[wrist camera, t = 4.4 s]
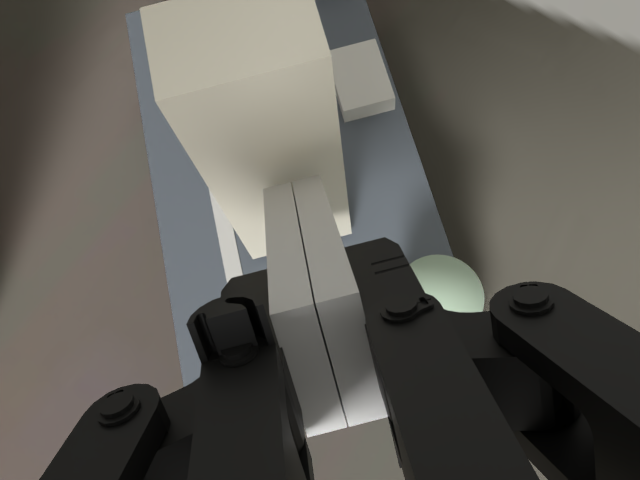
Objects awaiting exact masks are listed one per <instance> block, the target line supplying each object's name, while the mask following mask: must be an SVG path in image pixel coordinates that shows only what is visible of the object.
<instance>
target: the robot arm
mask: <svg viewBox="0 0 640 480" xmlns="http://www.w3.org/2000/svg"><path fill="white" fill-rule="evenodd" d="M292 184H293V188H292V185H291V182H288V183H284V184H280V185H276V186H272V187H268V188H264V189H263V196H264V216H265V236H266V256H267V269H264V270H260V271H256V272H253V273H249V274H245V275H241V276H237V277H233V278H231V279H230V280H229V281H228V283H227V284H226V285H225V287H224V288H223V289H222V291H221V297H220V298H217V299H214V300H211V301H210V302H208V303H206V304H204V305H203V306H201V307H199V308H198V309H197V310H196V311H195V312H194V313H193V314H192V315H191V316H190V318H189V320H188V322H187V324H186V325H187V328H188V330H189V333H190V335H191V338H192V341H193V343H194V346H195V348H196V351H197V354H198V356H199V359H200V361H201V371H200V377H199V378H197V379H196V380H195V381H193V382H192V383H190V384H189V385H187V386H185V387H183V388H181V389H179V390H177V391H175V392H173V393H171V394H169V395H167V396H164V397H162V398H160V396H159V393H158V391H157V389H156V388H154V387H152V386H150V385H149V384H133V385H129V386H124V387H120V388H117V389H115V390H114V391H111V392H109V393H107V394H105V395H104V396H103V397H102V398H100V399H99V400H97V401H96V402H94V403H93V404H92V405H91V406H90V408H89V409H88V410H87V411H86V412H85V413H84V414H83V416H82V417H81V419H80V420H79V422H78V423H77V425H76V426H75V427H74V429H73V430H72V432H71V433H70V435H69V436H68V438H67V439H66V441H65V442H64V444H63V445H62V447H61V448H60V450H59V451H58V453H57V454H56V456H55V457H54V459H53V460H52V462H51V463H50V464H49V466H48V467H47V469H46V470H45V472H44V473H43V475H42V476H41V478H40V479H39V480H314V474H313V466H312V458H311V455H310V452H309V448H308V445H307V442H306V439H305V434H304V427H305V430H306V434H307V437H311V436H315V435H319V434H323V433H327V432H331V431H335V430H339V429H343V428H346V427H347V424H346V419H345V414H346V418H347V421H348V425H349V427H350V426H354V425H358V424H362V423H366V422H370V421H374V420H378V419H382V418H386V417H388V419H389V424H390V428H391V432H392V436H393V441H394V445H395V449H396V453H397V458H398V462H399V466H400V468H402V470H403V474H404V477H405V480H539V478H538V476H537V474H536V472H535V471H534V469H533V467H532V465H531V464H530V462H529V460H530V461H531V462H532V464H533V465H534V466H535V467H536V468H537V469H538V470H539V471H540V472H541V473H542V474H543V475H544V476H545V477H546V478H547V479H548V480H640V332H638V331H636V330H635V329H633V328H631V327H630V326H628V325H626V324H624V323H623V322H621V321H619V320H618V319H616V318H614V317H613V316H611V315H609V314H607V313H606V312H604V311H602V310H601V309H599V308H597V307H595V306H594V305H592V304H590V303H589V302H587V301H585V300H584V299H582V298H580V297H578V296H577V295H575V294H573V293H572V292H570V291H568V290H567V289H565V288H562V287H559V286H557V285H554V284H550V283H543V282H523V283H518V284H515V285H511V286H508V287H505V288H504V289H502V290H500V291H499V292H497V293H495V295H494V296H493V297H492V299H491V300H490V311H487V312H455V311H448V310H445V309H443V307H442V305H441V303H440V302H439V301H438V300H437V299H436V298H435V297H434V296H432V295H429V294H426V293H425V292H424V290H423V288H422V286H421V284H420V282H419V281H418V279H417V277H416V275H415V273H414V271H413V269H412V268H411V266H410V265H409V262H408V260H407V258H406V257H405V255H404V253H403V251H402V249H401V247H400V246H399V244H397V243H395V242H394V241H392V240H390V239H388V238H386V237H383V238H379V239H375V240H371V241H367V242H363V243H359V244H355V245H352V246H348V247H344V245H343V242H342V239H341V236H340V233H339V231H338V228H337V225H336V222H335V219H334V216H333V213H332V210H331V207H330V204H329V201H328V198H327V195H326V192H325V189H324V186H323V183H322V180H321V177H320V174H319V175H315V176H311V177H307V178H303V179H299V180H296V181H292ZM293 190H294V192H293ZM294 195H295V196H294ZM341 399H342V400H341ZM342 403H343V405H342ZM343 407H344V409H343ZM344 410H345V414H344ZM303 424H304V425H303ZM528 459H529V460H528Z"/></svg>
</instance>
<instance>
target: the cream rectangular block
mask: <svg viewBox="0 0 640 480" xmlns="http://www.w3.org/2000/svg"><path fill="white" fill-rule="evenodd" d="M139 9H140V15H141V21H142V27H143V33H144V39H145V44H146V50H147V56H148V62H149V68H150V74H151V80H152V86H153V92H154V98H155V102H156V104H157V105H158V107H159V109H160V110H161V112H162V113H163V115H164V117H165V118H166V120H167V121H168V123H169V125H170V126H171V128H172V130H173V131H174V133H175V134H176V136H177V138H178V139H179V141H180V142H181V144H182V146H183V147H184V149H185V151H186V152H187V154H188V155H189V157H190V159H191V160H192V162H193V163H194V165H195V167H196V168H197V170H198V172H199V173H200V175H201V176H202V178H203V180H204V181H205V183H206V184H207V186H208V188H209V189H210V191H211V193H212V194H213V196H214V197H215V199H216V201H217V202H218V204H219V205H220V207H221V209H222V210H223V212H224V214H225V215H226V217H227V218H228V220H229V222H230V223H231V225H232V226H233V228H234V230H235V231H236V233H237V235H238V236H239V238H240V239H241V241H242V243H243V244H244V246H245V247H246V249H247V251H248V252H249V254H250V256H251V257H252V259H256V258H260V257H264V256H266V236H265V216H264V196H263V189H264V188H268V187H272V186H276V185H280V184H284V183H288V182H291V185H292V188H293V184H292V181H296V180H299V179H303V178H307V177H311V176H315V175H319V174H320V177H321V180H322V183H323V186H324V189H325V192H326V195H327V198H328V201H329V204H330V207H331V210H332V213H333V216H334V219H335V222H336V225H337V228H338V231H339V233H340V236H345V235H349V234H352V231H351V222H350V214H349V205H348V196H347V187H346V179H345V170H344V161H343V153H342V144H341V135H340V126H339V118H338V109H337V100H336V92H335V83H334V74H333V65H332V57H331V53H330V49H329V46H328V43H327V39H326V36H325V33H324V30H323V26H322V23H321V20H320V16H319V13H318V10H317V6H316V3H315V0H168V1H164V2H160V3H156V4H153V5H149V6H145V7H141V8H139ZM293 192H294V190H293ZM294 196H295V195H294Z"/></svg>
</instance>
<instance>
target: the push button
mask: <svg viewBox="0 0 640 480" xmlns="http://www.w3.org/2000/svg"><path fill="white" fill-rule="evenodd" d="M410 266H411V268H412V269H413V271H414V273H415V275H416V277H417V279H418V281H419V282H420V284H421V286H422V288H423V290H424V292H425V293H426V294H429V295H432V296H434V297H435V298H436V299H437V300H438V301H439V302H440V303H441V305H442V307H443V309H445V310H448V311H455V312H482V311H483V308H484V290H483V287H482V284H481V282H480V279H479V278H478V276H477V275H476V273H475V272H474V271H473V270H472V269H471V268H470V267H469V266H468V265H467V264H466V263H464V262H462V261H461V260H459V259H457V258H454V257H451V256H447V255H438V254H437V255H428V256H424V257H421V258H419V259H417V260H415V261H414V262H412V263H411V264H410Z"/></svg>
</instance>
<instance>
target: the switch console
mask: <svg viewBox="0 0 640 480" xmlns="http://www.w3.org/2000/svg"><path fill="white" fill-rule="evenodd" d="M315 3H316V6H317V10H318V13H319V16H320V20H321V23H322V26H323V30H324V33H325V36H326V39H327V43H328V46H329V49H330V53H331V57H332V65H333V74H334V83H335V92H336V100H337V109H338V118H339V126H340V135H341V144H342V153H343V161H344V170H345V179H346V187H347V196H348V205H349V214H350V222H351V231H352V234H349V235H345V236H341V239H342V242H343V245H344V247H348V246H352V245H355V244H359V243H363V242H367V241H371V240H375V239H379V238H383V237H386V238H388V239H390V240H392V241H394V242H395V243H397V244H399V246H400V247H401V249H402V251H403V253H404V255H405V257H406V258H407V260H408V262H409V265H410V264H411V263H412V262H414V261H415V260H417V259H419V258H421V257H424V256H428V255H437V254H438V255H447V256H451V257H453V254H452V251H451V248H450V245H449V242H448V239H447V236H446V233H445V230H444V227H443V225H442V222H441V219H440V216H439V213H438V210H437V207H436V204H435V201H434V198H433V195H432V192H431V189H430V187H429V184H428V181H427V178H426V175H425V172H424V169H423V166H422V163H421V160H420V157H419V154H418V151H417V149H416V146H415V143H414V140H413V137H412V134H411V131H410V128H409V125H408V122H407V119H406V116H405V113H404V111H403V108H402V105H401V102H400V99H399V96H398V93H397V90H396V87H395V84H394V81H393V78H392V75H391V73H390V70H389V67H388V64H387V61H386V58H385V55H384V52H383V49H382V46H381V43H380V40H379V38H378V35H377V32H376V29H375V26H374V23H373V20H372V17H371V14H370V11H369V8H368V5H367V2H366V0H315ZM125 15H126V22H127V28H128V34H129V41H130V47H131V53H132V60H133V66H134V73H135V79H136V85H137V92H138V98H139V104H140V111H141V117H142V124H143V130H144V136H145V143H146V149H147V155H148V162H149V168H150V175H151V181H152V187H153V194H154V200H155V206H156V213H157V219H158V226H159V232H160V238H161V245H162V251H163V258H164V264H165V270H166V277H167V283H168V289H169V296H170V302H171V309H172V315H173V321H174V328H175V334H176V340H177V347H178V353H179V360H180V366H181V372H182V379H183V385H184V387H185V386H187V385H189V384H190V383H192V382H193V381H195V380H196V379H197V378H199V377H200V371H201V361H200V359H199V356H198V354H197V351H196V348H195V346H194V343H193V341H192V338H191V335H190V333H189V330H188V328H187V325H186V324H187V322H188V320H189V318H190V316H191V315H192V314H193V313H194V312H195V311H196V310H197V309H198V308H199V307H201V306H203V305H204V304H206V303H208V302H210V301H211V300H214V299H217V298H220V297H221V291H222V289H223V288H224V287H225V285H226V284H227V283H228V281H229V280H230V279H231V278H233V277H237V276H241V275H245V274H249V273H253V272H256V271H260V270H264V269H267V256H264V257H260V258H256V259H252V257H251V256H250V254H249V252H248V251H247V249H246V247H245V246H244V244H243V243H242V241H241V239H240V238H239V236H238V235H237V233H236V231H235V230H234V228H233V226H232V225H231V223H230V222H229V220H228V218H227V217H226V215H225V214H224V212H223V210H222V209H221V207H220V205H219V204H218V202H217V201H216V199H215V197H214V196H213V194H212V193H211V191H210V189H209V188H208V186H207V184H206V183H205V181H204V180H203V178H202V176H201V175H200V173H199V172H198V170H197V168H196V167H195V165H194V163H193V162H192V160H191V159H190V157H189V155H188V154H187V152H186V151H185V149H184V147H183V146H182V144H181V142H180V141H179V139H178V138H177V136H176V134H175V133H174V131H173V130H172V128H171V126H170V125H169V123H168V121H167V120H166V118H165V117H164V115H163V113H162V112H161V110H160V109H159V107H158V105H157V104H156V102H155V98H154V92H153V86H152V80H151V74H150V68H149V62H148V56H147V50H146V44H145V39H144V33H143V27H142V21H141V15H140V10H139V11H135V12H131V13H127V14H125ZM341 400H342V399H341ZM342 405H343V403H342ZM343 409H344V407H343ZM344 414H345V410H344Z"/></svg>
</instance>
